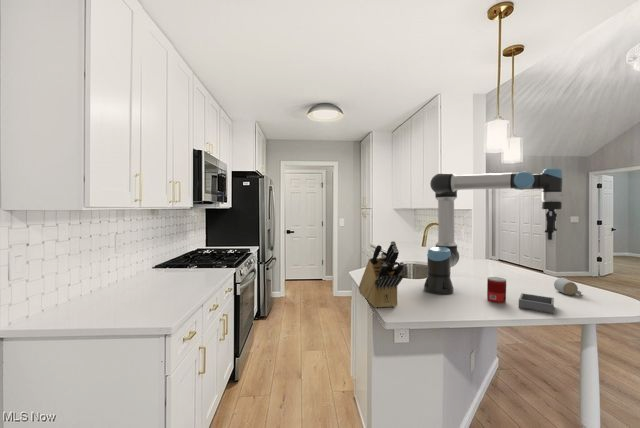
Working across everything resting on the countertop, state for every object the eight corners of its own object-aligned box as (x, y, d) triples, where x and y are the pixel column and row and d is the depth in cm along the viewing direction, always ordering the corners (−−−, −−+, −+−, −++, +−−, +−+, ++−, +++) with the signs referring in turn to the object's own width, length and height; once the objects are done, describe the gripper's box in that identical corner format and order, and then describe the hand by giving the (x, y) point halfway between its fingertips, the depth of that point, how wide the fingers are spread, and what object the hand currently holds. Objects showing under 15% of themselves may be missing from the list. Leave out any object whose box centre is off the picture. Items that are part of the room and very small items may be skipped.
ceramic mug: (563, 295, 159) (564, 281, 159) (553, 291, 167) (553, 277, 167) (585, 296, 158) (586, 281, 158) (574, 292, 167) (574, 278, 166)
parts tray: (518, 308, 140) (518, 299, 140) (521, 301, 150) (521, 293, 150) (553, 314, 132) (553, 304, 132) (553, 306, 142) (553, 297, 142)
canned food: (508, 303, 146) (508, 280, 146) (490, 302, 148) (490, 280, 147) (502, 299, 153) (502, 277, 153) (485, 298, 155) (485, 276, 155)
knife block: (381, 316, 130) (381, 243, 129) (358, 292, 165) (358, 235, 164) (406, 314, 132) (406, 242, 131) (378, 291, 167) (378, 234, 166)
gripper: (560, 200, 135) (559, 248, 136) (562, 201, 155) (561, 243, 155) (539, 200, 140) (538, 247, 141) (543, 201, 159) (542, 242, 160)
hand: (550, 245), depth 148 cm, fingers open, 13 cm apart
